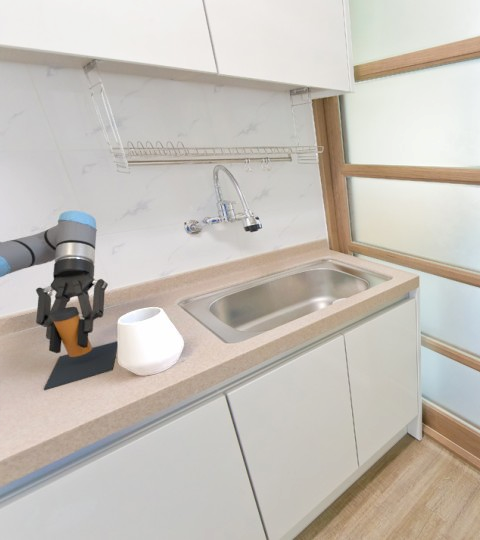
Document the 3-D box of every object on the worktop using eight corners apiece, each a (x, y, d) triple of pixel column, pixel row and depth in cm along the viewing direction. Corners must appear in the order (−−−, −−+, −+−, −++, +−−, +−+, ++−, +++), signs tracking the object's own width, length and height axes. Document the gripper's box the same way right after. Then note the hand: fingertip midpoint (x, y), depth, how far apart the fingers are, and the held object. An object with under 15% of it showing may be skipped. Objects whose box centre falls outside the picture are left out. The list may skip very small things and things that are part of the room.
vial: (69, 351, 83) (51, 310, 80) (94, 344, 86) (78, 305, 82) (65, 360, 80) (46, 317, 76) (92, 352, 82) (74, 311, 78)
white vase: (109, 375, 79) (89, 324, 74) (163, 345, 91) (148, 300, 86) (149, 386, 75) (130, 333, 70) (200, 353, 87) (187, 306, 82)
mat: (60, 357, 87) (59, 356, 87) (118, 342, 93) (117, 341, 93) (44, 390, 75) (43, 388, 75) (112, 370, 81) (112, 368, 81)
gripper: (122, 265, 94) (121, 343, 85) (41, 275, 87) (31, 361, 78) (108, 252, 87) (106, 335, 79) (20, 262, 81) (6, 354, 72)
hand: (68, 348), depth 79 cm, fingers closed on vial, 4 cm apart
